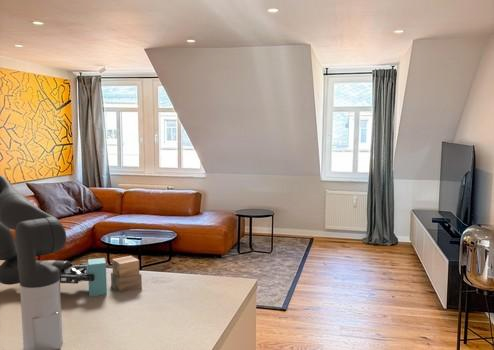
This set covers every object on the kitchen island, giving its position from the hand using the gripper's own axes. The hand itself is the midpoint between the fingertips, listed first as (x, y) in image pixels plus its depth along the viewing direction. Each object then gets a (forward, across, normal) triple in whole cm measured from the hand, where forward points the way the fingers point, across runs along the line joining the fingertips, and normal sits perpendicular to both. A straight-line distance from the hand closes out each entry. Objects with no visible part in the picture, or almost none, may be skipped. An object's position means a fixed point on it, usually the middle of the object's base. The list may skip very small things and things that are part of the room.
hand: (99, 273), depth 148 cm
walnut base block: (+6, +7, +7) cm, 12 cm away
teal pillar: (-1, 0, +7) cm, 7 cm away
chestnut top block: (+6, +7, +2) cm, 10 cm away
